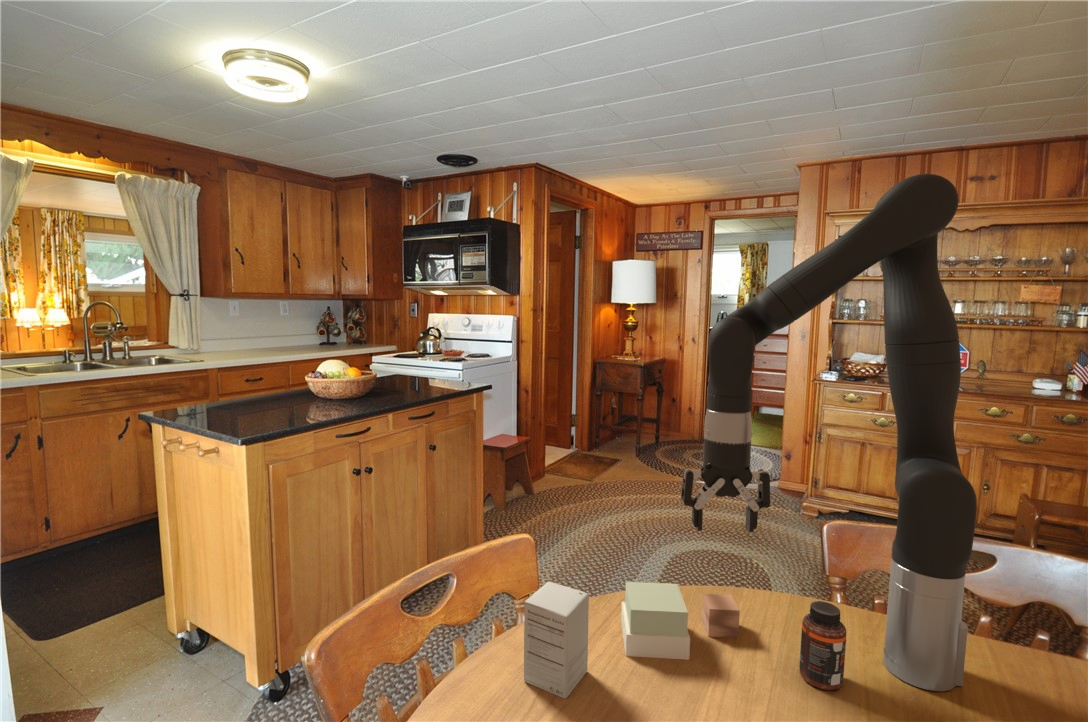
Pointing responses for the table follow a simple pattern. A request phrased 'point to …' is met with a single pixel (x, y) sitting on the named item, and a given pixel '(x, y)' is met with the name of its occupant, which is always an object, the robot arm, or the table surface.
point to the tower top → (655, 609)
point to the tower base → (653, 643)
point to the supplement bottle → (823, 646)
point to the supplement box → (556, 638)
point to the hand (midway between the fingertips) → (723, 529)
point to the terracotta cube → (720, 616)
